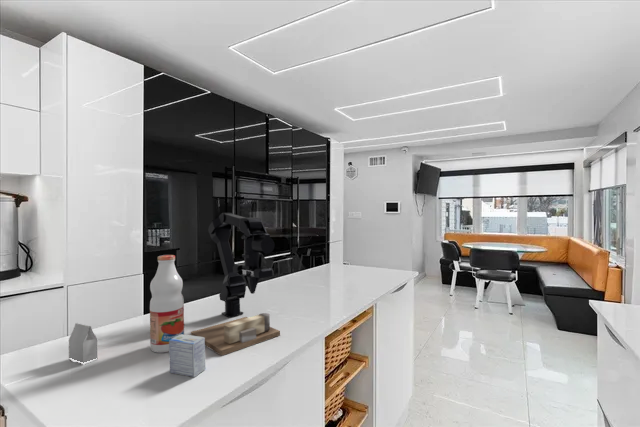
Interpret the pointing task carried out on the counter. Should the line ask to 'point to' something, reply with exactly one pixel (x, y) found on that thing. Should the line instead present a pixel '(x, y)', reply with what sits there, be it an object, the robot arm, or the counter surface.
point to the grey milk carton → (82, 343)
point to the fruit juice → (166, 305)
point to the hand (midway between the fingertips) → (252, 293)
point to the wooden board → (246, 337)
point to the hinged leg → (246, 327)
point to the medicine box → (187, 355)
